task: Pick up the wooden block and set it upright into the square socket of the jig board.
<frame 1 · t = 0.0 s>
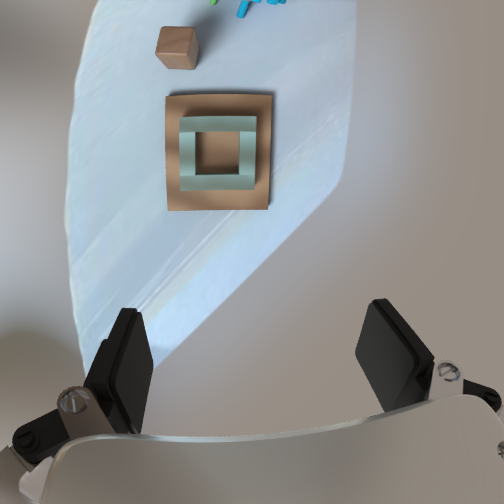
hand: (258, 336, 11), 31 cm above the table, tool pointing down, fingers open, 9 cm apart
wooden block: (183, 57, 31), on the table
jig: (217, 151, 37), on the table
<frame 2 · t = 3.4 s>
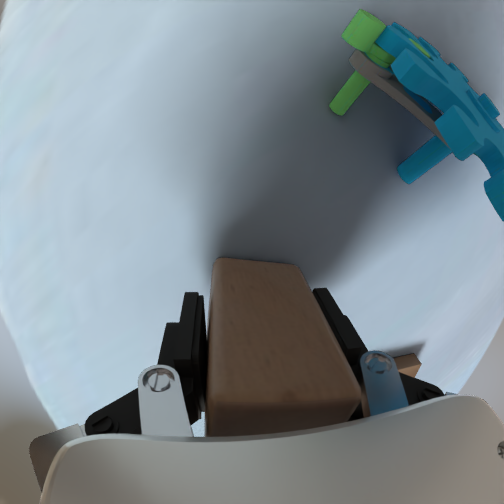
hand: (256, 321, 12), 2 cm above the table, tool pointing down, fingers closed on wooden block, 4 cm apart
wooden block: (250, 292, 14), on the table, touching gripper
jig: (308, 431, 20), on the table
gear: (413, 108, 11), on the table
when the fingers open (4 cm above the table, at t = 8.5 s): wooden block stays where it is, resting on jig.
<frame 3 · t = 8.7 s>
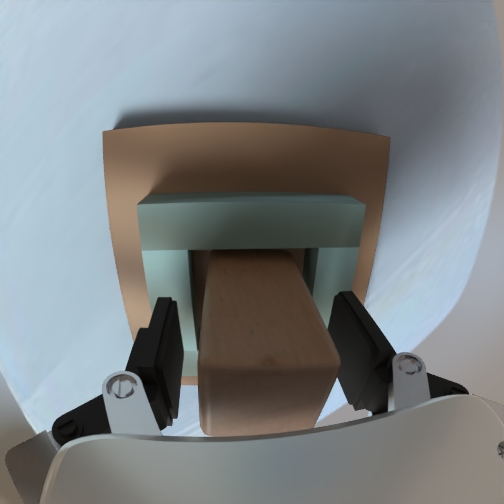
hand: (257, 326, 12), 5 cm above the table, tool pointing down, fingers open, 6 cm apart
wooden block: (247, 279, 15), point 1 cm above the table, touching jig
jig: (247, 272, 16), on the table
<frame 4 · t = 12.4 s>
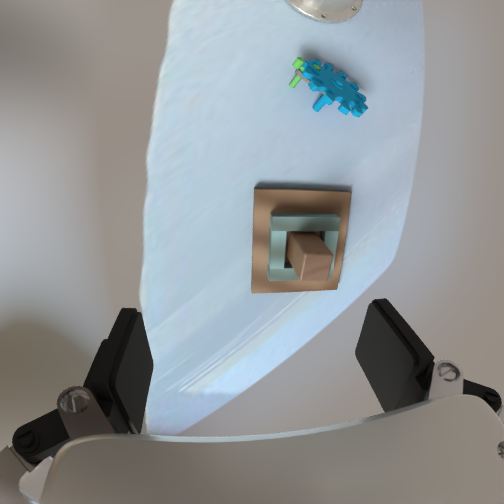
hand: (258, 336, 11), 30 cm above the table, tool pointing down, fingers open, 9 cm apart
wooden block: (300, 243, 42), point 1 cm above the table, touching jig
jig: (299, 241, 43), on the table
gear: (322, 87, 34), on the table
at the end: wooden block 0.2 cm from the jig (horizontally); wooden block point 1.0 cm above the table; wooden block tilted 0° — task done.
